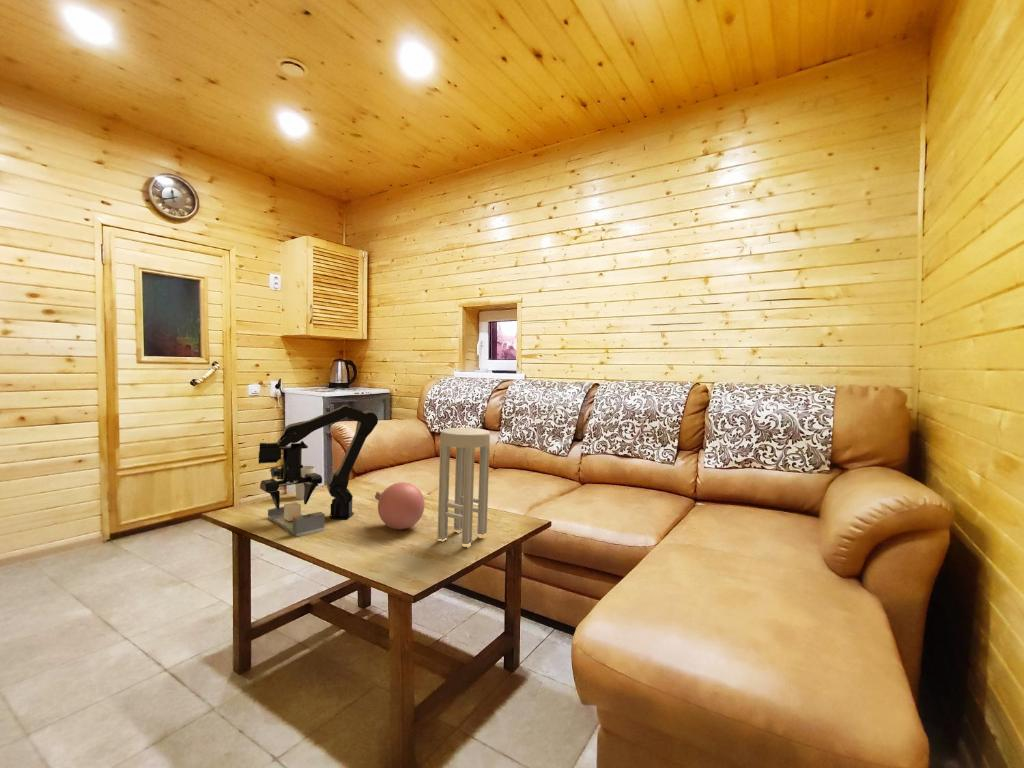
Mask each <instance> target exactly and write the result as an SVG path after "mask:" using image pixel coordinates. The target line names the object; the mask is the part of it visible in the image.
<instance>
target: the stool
mask: <svg viewBox="0 0 1024 768" xmlns="http://www.w3.org/2000/svg"><path fill="white" fill-rule="evenodd" d="M439 436H440V437H439V472H438V473H439V476H438V511H437V513H438V514H437V540H438V539H442V540H443V539H445V538H447V539H448V536H449V535H448V533H449V532H448V530H449V529H448V528H449V526H448V525H449V518H450V519H453V530H454V529H455V530H461V529H462V532H461V544H462V543H463V544H469V543H471V542H472V543H473V515H474V513H477V528H476V530H477V534H482V535H483V534H485V533H487V534H488V532H487V531H488V529H487V528H488V506H489V505H488V504H489V502H488V501H489V477H490V476H489V471H490V444H491V443H490V440H491V439H490V438H491V437H490V436H491V432H490V430H486V429H483V428H476V427H475V428H474V427H450V428H443V429H442V430H441V432H440V435H439ZM451 448H455V475H454V477H455V479H454V481H455V482H454V503H452V502H449V495H450V467H451V466H450V463H451V462H450V459H451V456H450V455H451ZM476 448H479V463H478V464H479V465H478V466H479V467H478V468H479V471H478V496H477V497H478V498H476V497H474V482H475V481H474V480H475V455H476V454H475V451H476ZM474 503H475V504H478V505H477V507H475V506H474ZM449 508H450V509H454V510H453V511H454V512H453V513H452V512H449ZM473 512H474V513H473ZM477 534H476V535H477Z"/></svg>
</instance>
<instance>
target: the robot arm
mask: <svg viewBox="0 0 1024 768" xmlns="http://www.w3.org/2000/svg"><path fill="white" fill-rule="evenodd" d="M345 418H348V419H351V420H353V421H355V422H356V425H355V426H356V428H355V433H354V435H353V437H352V440H351V442H350V444H349V446H348V448H347V449H346V452H345V455H344V456H343V459H342V460H341V463H340V466H339V467H338V469H337V470H336V471H335V472H334V471H331V472H330V474H329V478H328V479H327V480H326V481H325V482H326V489H327V491H328V493H329V495H330V496H331V497H332V498H333V499H332V500H331V503H330V516H329V519H336V520H349V518H351V517H352V516H353V515H354V514H355V512H354V511H353V497H354V496H353V494H352V492H351V491H350V489H349V488H348V486H349V482H350V481H349V480H350V475H351V472H352V471H353V468H354V465H355V463H356V461H357V458H358V457H359V455H360V453H361V450H362V448H363V446H364V444H365V441H366V439H367V437H369V436H370V434H371V433H372V432H373V430H374V429H375V428H376V427H377V425H378V422H379V419H378V416H377V415H376V413H374V412H373V411H371V410H364V411H362V410H359V409H356V408H354V407H351V406H349V405H347V404H343V405H341V406H340V407H337V408H335V409H332V410H331V411H328V412H325V413H323V414H321V415H319V416H318V415H317V416H316V417H314V418H311V419H309V420H302V421H299V422H295V423H290V424H288V425H286V426H285V427H284V429H283V433H282V435H281V437H279V439H278V440H277V441H276V442H259V451H258V464H259V465H260V464H274V463H277V464H278V461H280V460H282V464H281V466H280V467H281V468H279V467H278V466H273V467H271V468H270V476H271V477H272V478H270V479H264V480H261V482H260V484H259V489H260V490H261V491H263V492H265V493H268V494H270V496H271V499H272V501H273V503H274V507H275V508H276V509H277V510H279V507H281V506H280V502H281V500H280V499H281V498H280V497H281V494H280V493H281V491H280V490H278V489H280V488H281V487H285V486H292V485H295V484H299V483H304V488H305V490H304V500H303V504H304V505H307V504H308V502H309V500H310V499H311V498H310V496H311V494H312V492H313V493H314V491H315V489H316V487H319V484H322V483H323V477H322V475H320V474H318V473H317V472H315V473H310V474H305V476H304V477H302V476H301V468H303V466H304V465H303V464H302V454H303V451H302V449H308V447H309V446H308V445H307V444H306V443H305V442H304V441H303V439H305V438H306V437H307V436H309V435H310V434H311V433H314V432H315V431H316V430H320V429H322V428H325V427H326V426H329V425H331V424H333V423H335V422H339V421H340V420H342V419H345ZM282 452H283V453H282ZM274 478H276V479H277V480H276V479H274ZM309 498H310V499H309Z"/></svg>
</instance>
